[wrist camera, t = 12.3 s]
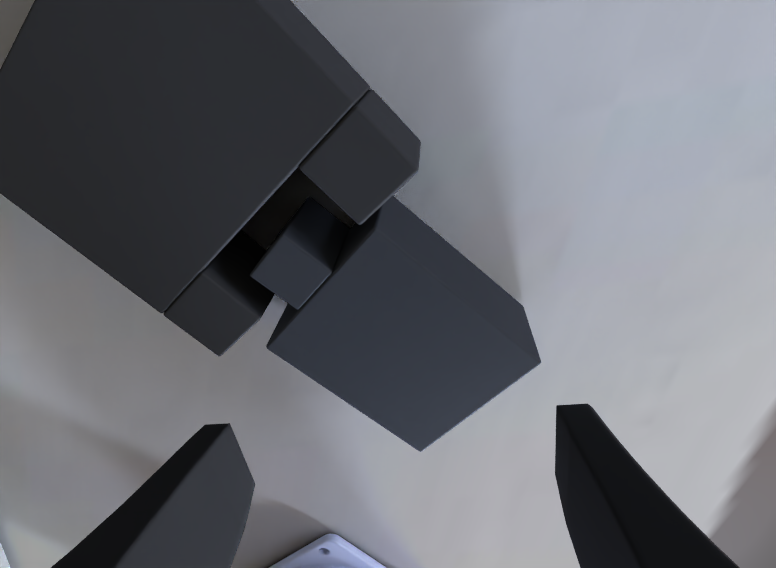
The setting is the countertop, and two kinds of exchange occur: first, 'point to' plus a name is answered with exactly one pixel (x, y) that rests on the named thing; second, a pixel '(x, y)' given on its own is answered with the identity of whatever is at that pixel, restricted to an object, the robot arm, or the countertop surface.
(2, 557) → the packaged product
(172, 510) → the robot arm
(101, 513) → the countertop surface
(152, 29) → the black pad
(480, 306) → the graphite pad
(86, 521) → the countertop surface
